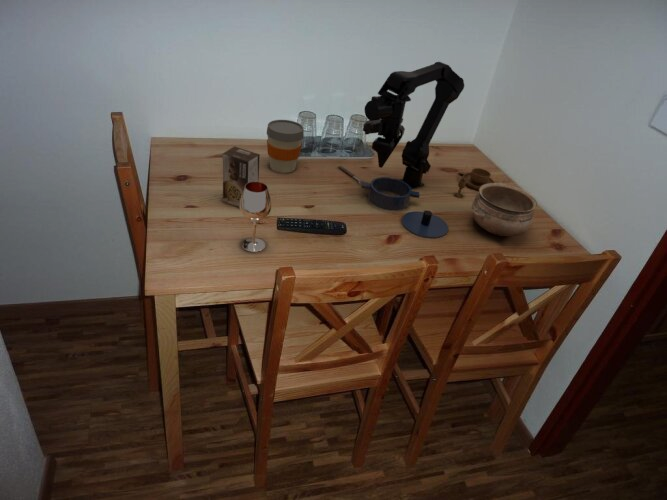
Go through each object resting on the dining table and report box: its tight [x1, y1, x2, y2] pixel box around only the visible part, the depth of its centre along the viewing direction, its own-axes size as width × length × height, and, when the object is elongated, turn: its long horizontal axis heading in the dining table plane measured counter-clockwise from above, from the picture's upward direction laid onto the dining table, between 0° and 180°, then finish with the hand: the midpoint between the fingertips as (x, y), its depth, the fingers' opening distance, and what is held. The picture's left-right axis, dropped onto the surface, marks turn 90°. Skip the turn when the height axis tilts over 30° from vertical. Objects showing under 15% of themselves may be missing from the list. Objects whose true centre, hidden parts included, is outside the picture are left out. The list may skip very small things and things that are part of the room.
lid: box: [401, 210, 449, 239], centre depth 157 cm, size 15×15×5 cm
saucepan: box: [361, 176, 420, 212], centre depth 167 cm, size 14×19×6 cm
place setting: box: [454, 167, 496, 198], centre depth 185 cm, size 18×20×6 cm
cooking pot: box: [470, 182, 538, 237], centre depth 159 cm, size 25×19×12 cm
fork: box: [337, 165, 362, 185], centre depth 179 cm, size 15×2×8 cm, turn 37°
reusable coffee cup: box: [266, 119, 305, 174], centre depth 175 cm, size 13×12×15 cm
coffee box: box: [222, 146, 261, 208], centre depth 152 cm, size 9×6×16 cm
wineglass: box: [238, 181, 272, 253], centre depth 133 cm, size 8×8×18 cm
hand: (384, 161), depth 165 cm, fingers open, 9 cm apart
